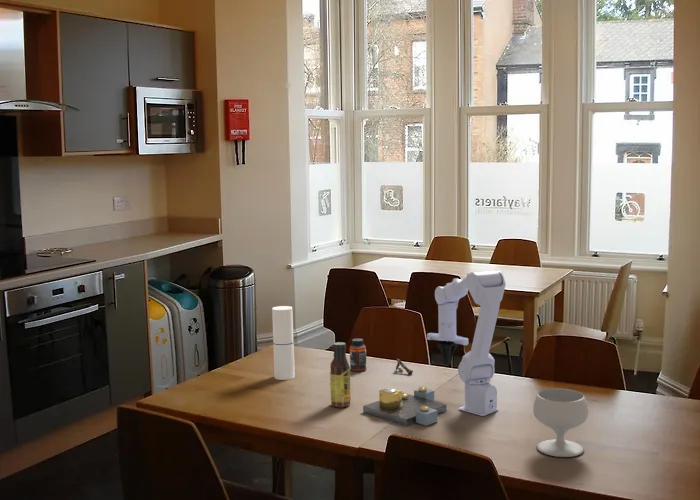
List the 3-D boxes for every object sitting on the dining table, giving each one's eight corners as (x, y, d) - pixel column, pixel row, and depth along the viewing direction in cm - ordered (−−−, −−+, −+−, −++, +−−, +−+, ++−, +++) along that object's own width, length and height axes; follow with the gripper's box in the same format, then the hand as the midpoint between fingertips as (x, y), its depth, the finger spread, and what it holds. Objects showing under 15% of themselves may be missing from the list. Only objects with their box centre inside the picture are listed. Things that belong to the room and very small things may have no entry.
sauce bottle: (348, 409, 250) (347, 346, 247) (328, 408, 251) (327, 345, 248) (352, 402, 256) (351, 341, 253) (333, 401, 257) (331, 340, 255)
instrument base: (446, 411, 246) (446, 387, 245) (406, 425, 233) (406, 401, 232) (403, 398, 258) (402, 376, 258) (363, 412, 246) (362, 389, 245)
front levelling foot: (434, 401, 255) (434, 387, 254) (426, 404, 252) (425, 390, 251) (422, 397, 258) (422, 384, 258) (414, 400, 255) (413, 387, 255)
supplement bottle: (369, 368, 294) (369, 338, 293) (361, 372, 289) (360, 342, 288) (355, 366, 297) (355, 336, 296) (347, 370, 292) (346, 340, 291)
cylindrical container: (271, 379, 284) (268, 309, 281) (279, 373, 291) (276, 305, 288) (290, 380, 282) (288, 310, 279) (297, 374, 289) (295, 306, 285)
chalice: (578, 439, 220) (578, 386, 218) (595, 458, 206) (596, 402, 204) (527, 441, 219) (527, 387, 217) (541, 460, 205) (541, 403, 203)
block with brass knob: (437, 421, 236) (437, 406, 235) (426, 425, 232) (426, 411, 232) (427, 418, 239) (427, 404, 238) (416, 422, 235) (415, 408, 235)
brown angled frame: (396, 367, 293) (399, 357, 291) (410, 380, 287) (413, 369, 285) (392, 368, 292) (395, 357, 290) (406, 381, 286) (409, 370, 284)
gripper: (421, 322, 261) (422, 363, 263) (460, 327, 252) (460, 370, 254) (433, 318, 267) (434, 358, 269) (471, 323, 258) (471, 365, 260)
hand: (447, 363), depth 262 cm, fingers closed
